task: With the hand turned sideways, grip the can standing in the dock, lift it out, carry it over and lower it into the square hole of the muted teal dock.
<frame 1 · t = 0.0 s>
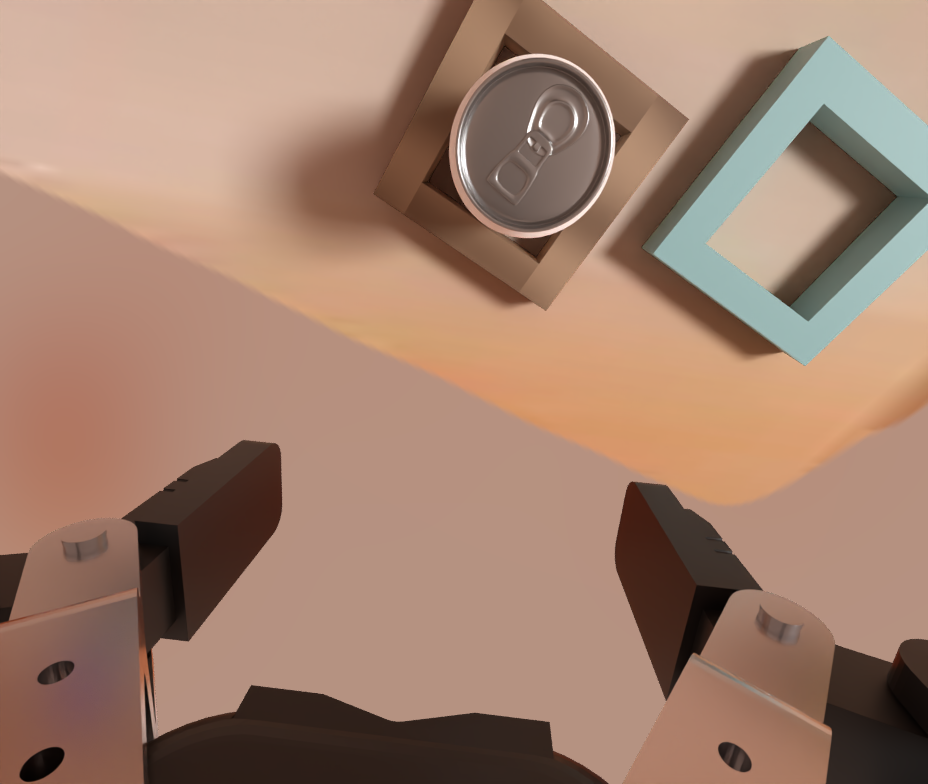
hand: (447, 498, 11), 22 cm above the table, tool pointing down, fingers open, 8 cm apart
can: (521, 159, 28), resting in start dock
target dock: (790, 217, 28), on the table
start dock: (521, 159, 28), on the table
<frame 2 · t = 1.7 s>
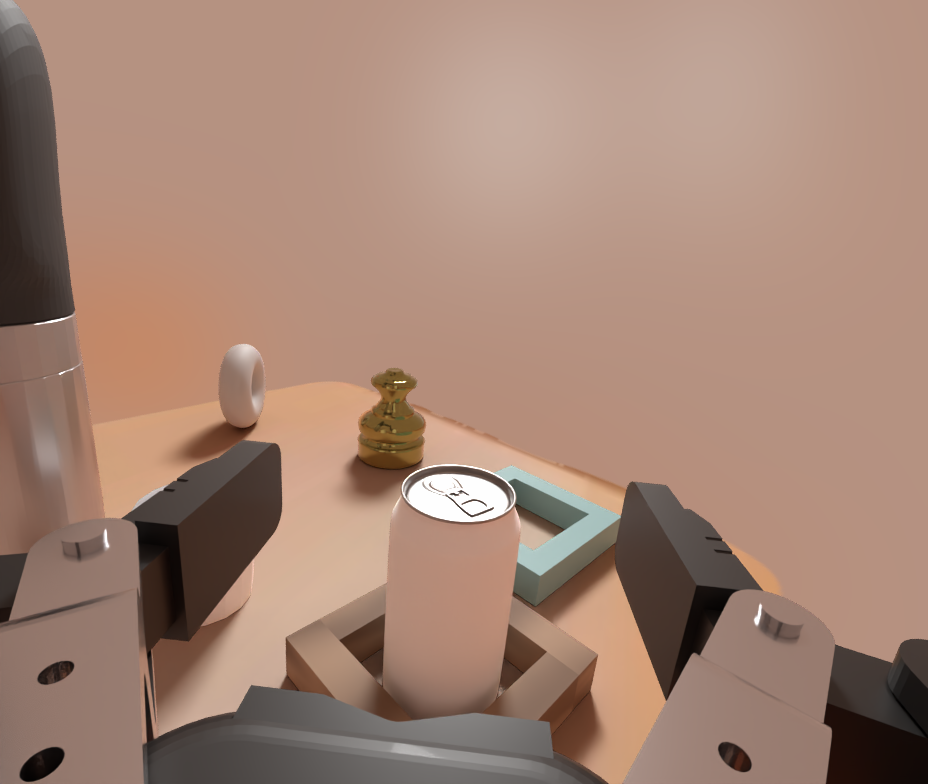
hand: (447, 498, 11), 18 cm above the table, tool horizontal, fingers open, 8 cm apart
donut: (245, 426, 59), on the table
white cup: (206, 597, 32), on the table
gold tiered piece: (390, 457, 54), on the table
can: (440, 685, 27), resting in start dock
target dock: (519, 535, 41), on the table
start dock: (440, 681, 27), on the table
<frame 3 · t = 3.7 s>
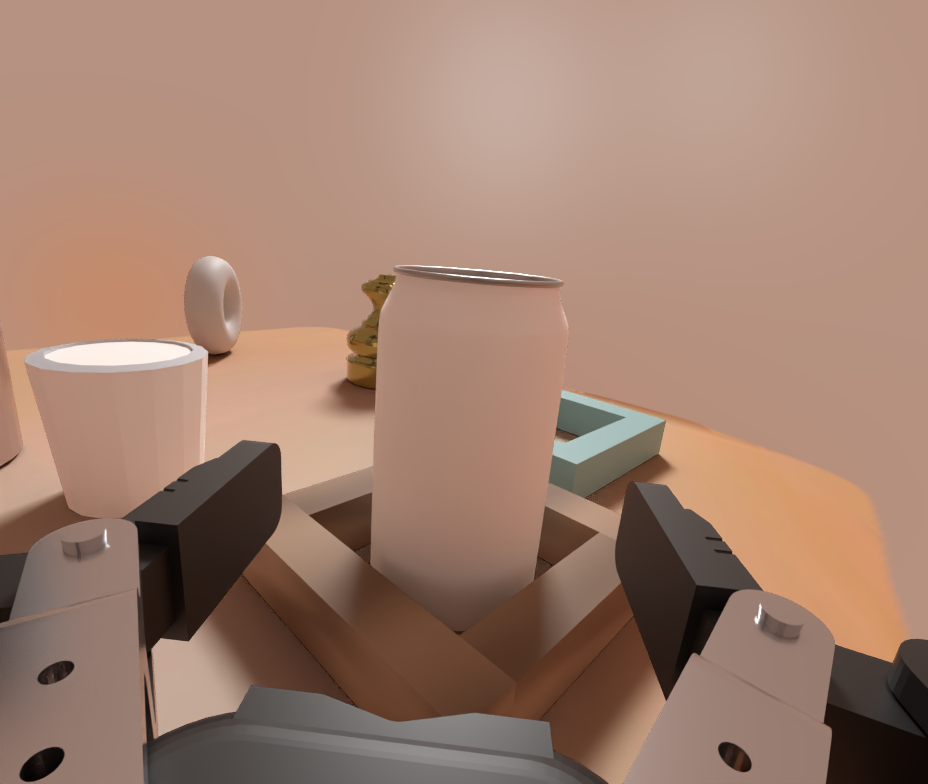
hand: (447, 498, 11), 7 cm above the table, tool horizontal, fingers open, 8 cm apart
donut: (218, 355, 51), on the table
white cup: (139, 492, 24), on the table
gold tiered piece: (384, 382, 47), on the table
can: (450, 583, 19), resting in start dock
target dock: (541, 445, 34), on the table
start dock: (451, 578, 19), on the table
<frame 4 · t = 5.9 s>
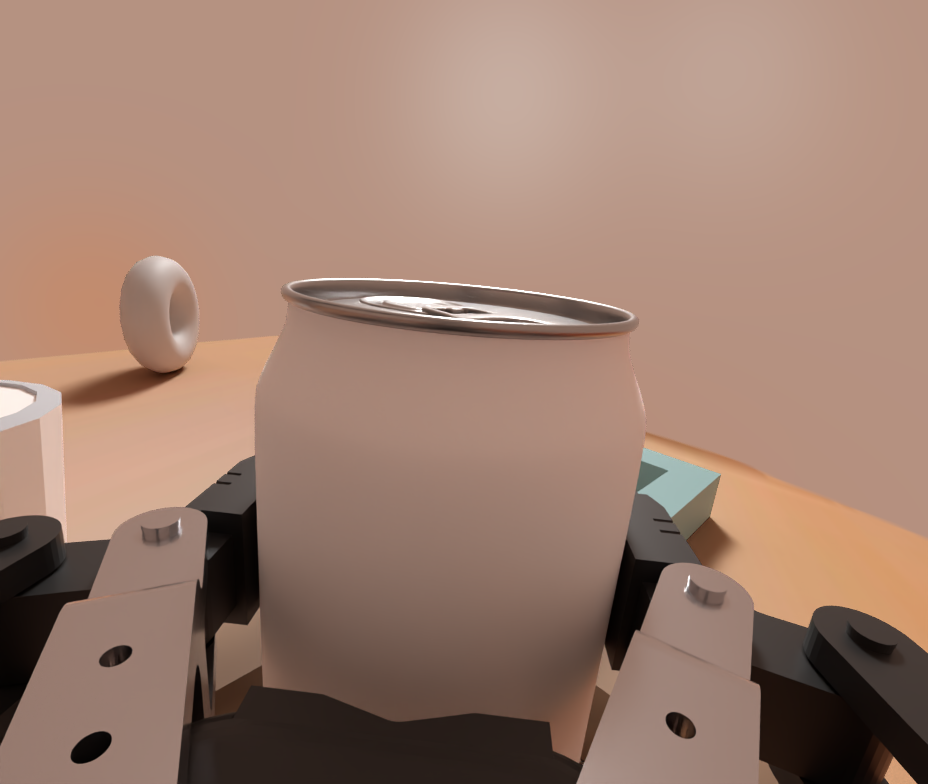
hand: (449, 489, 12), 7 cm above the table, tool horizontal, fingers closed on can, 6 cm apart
donut: (168, 373, 43), on the table
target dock: (555, 506, 26), on the table
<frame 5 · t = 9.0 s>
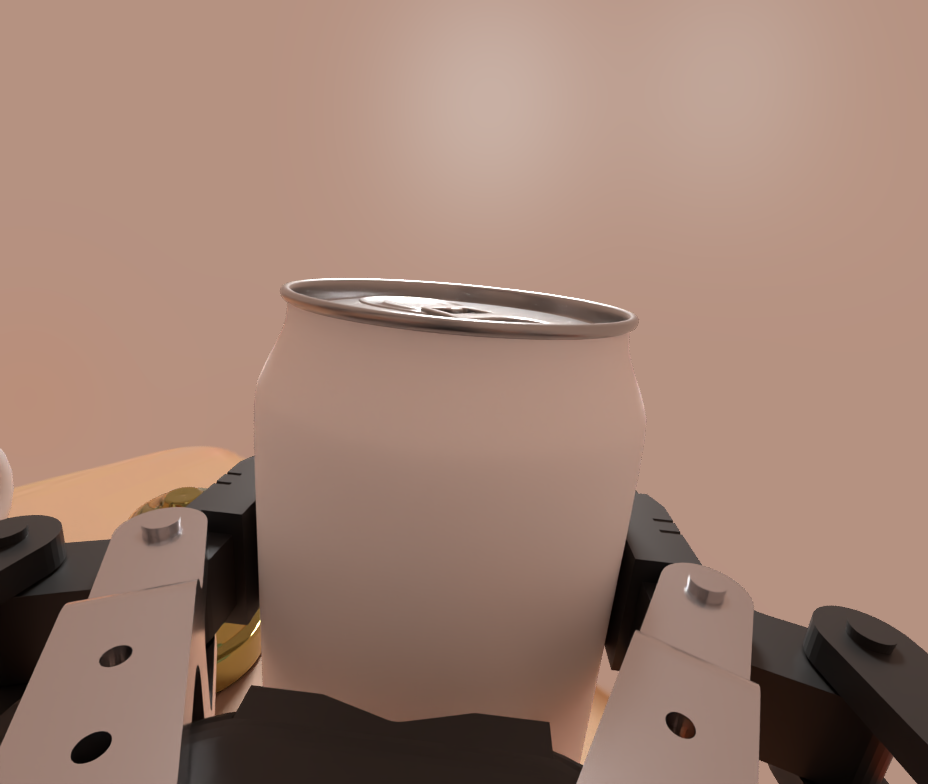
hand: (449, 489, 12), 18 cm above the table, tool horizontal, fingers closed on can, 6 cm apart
gold tiered piece: (198, 653, 28), on the table
when the fingers open (8 cm above the table, at t = 12.3 s): can stays where it is, resting in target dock.
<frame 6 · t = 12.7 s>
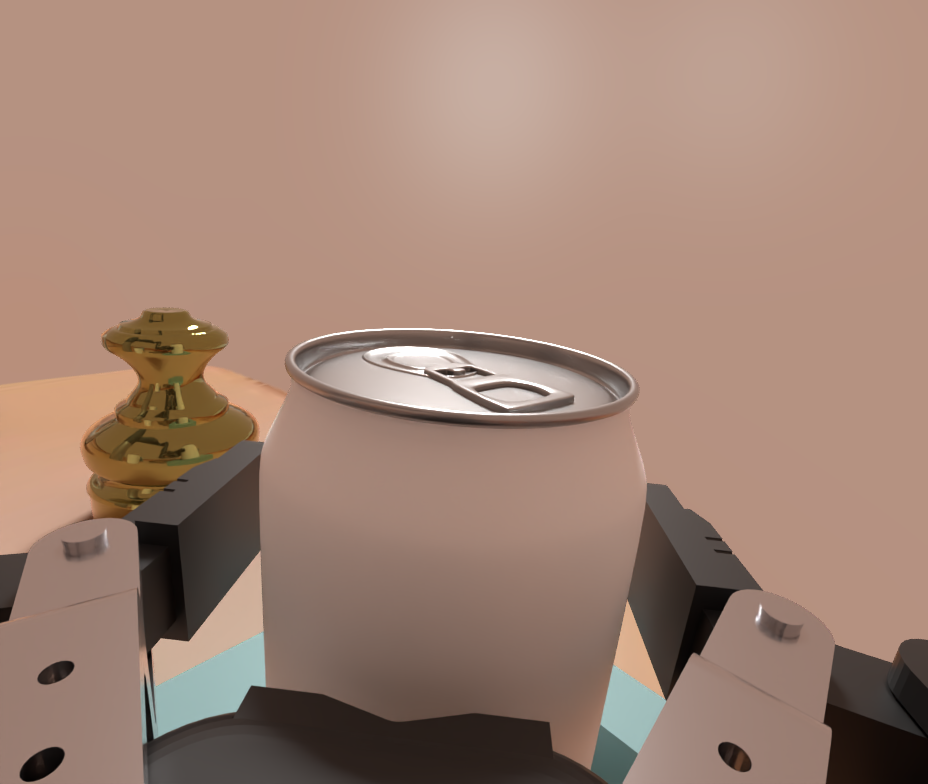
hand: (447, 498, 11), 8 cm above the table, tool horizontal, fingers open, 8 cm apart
gold tiered piece: (183, 511, 25), on the table
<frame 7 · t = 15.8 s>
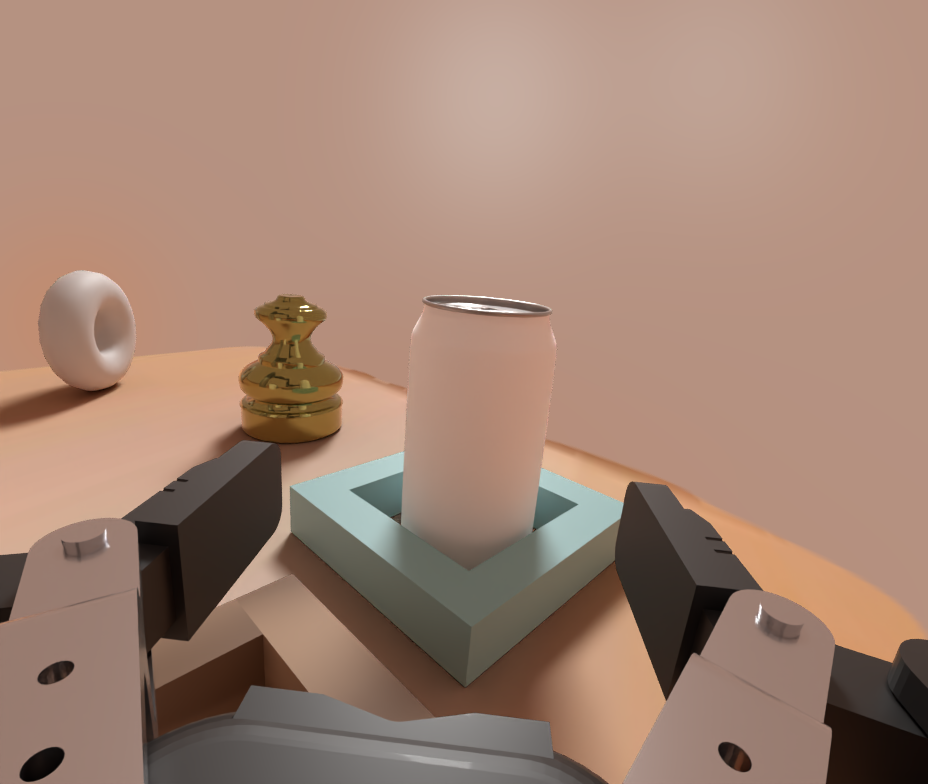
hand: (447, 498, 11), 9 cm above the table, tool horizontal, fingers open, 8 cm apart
donut: (100, 390, 42), on the table
gold tiered piece: (293, 428, 37), on the table
can: (464, 547, 24), resting in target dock
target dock: (460, 541, 24), on the table
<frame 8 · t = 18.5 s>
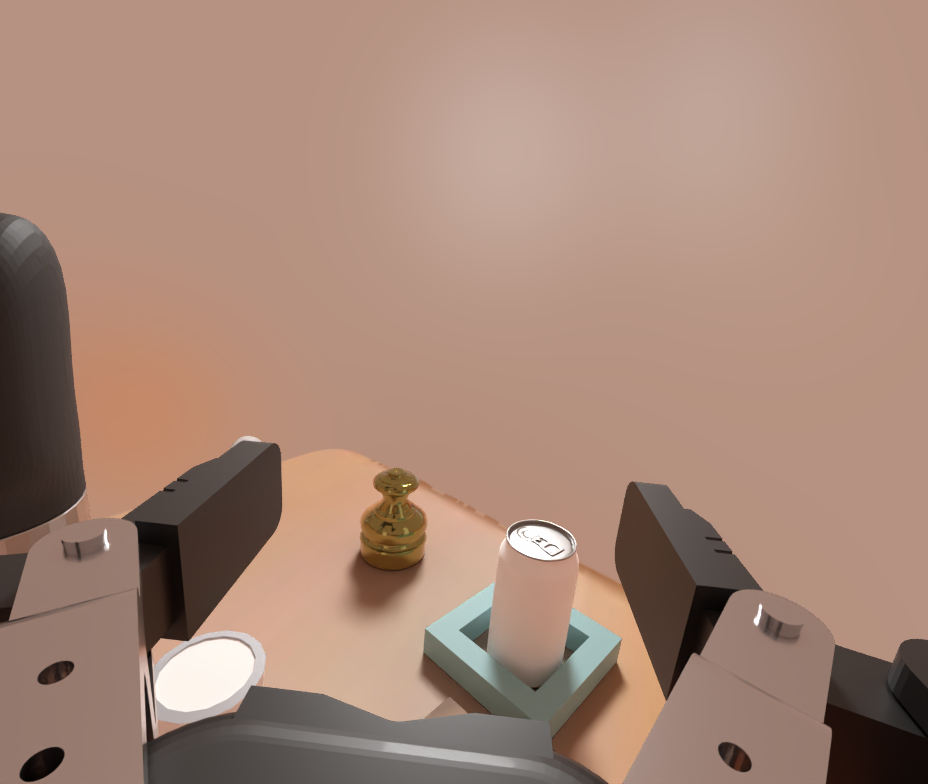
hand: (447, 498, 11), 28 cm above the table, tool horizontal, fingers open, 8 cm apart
white cup: (214, 755, 32), on the table
gold tiered piece: (392, 552, 55), on the table
can: (523, 660, 42), resting in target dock
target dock: (521, 656, 42), on the table
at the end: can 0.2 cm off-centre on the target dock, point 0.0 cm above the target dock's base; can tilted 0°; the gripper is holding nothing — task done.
